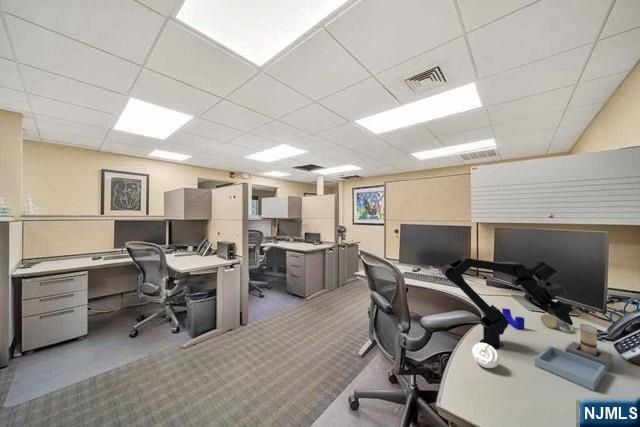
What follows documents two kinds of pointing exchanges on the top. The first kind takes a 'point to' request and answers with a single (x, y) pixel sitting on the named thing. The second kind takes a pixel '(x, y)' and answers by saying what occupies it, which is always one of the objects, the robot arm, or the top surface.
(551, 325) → the ceramic mug
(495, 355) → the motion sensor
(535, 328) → the top surface
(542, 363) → the parts tray
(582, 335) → the fuse
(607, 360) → the fuse holder
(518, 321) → the blue angular block
